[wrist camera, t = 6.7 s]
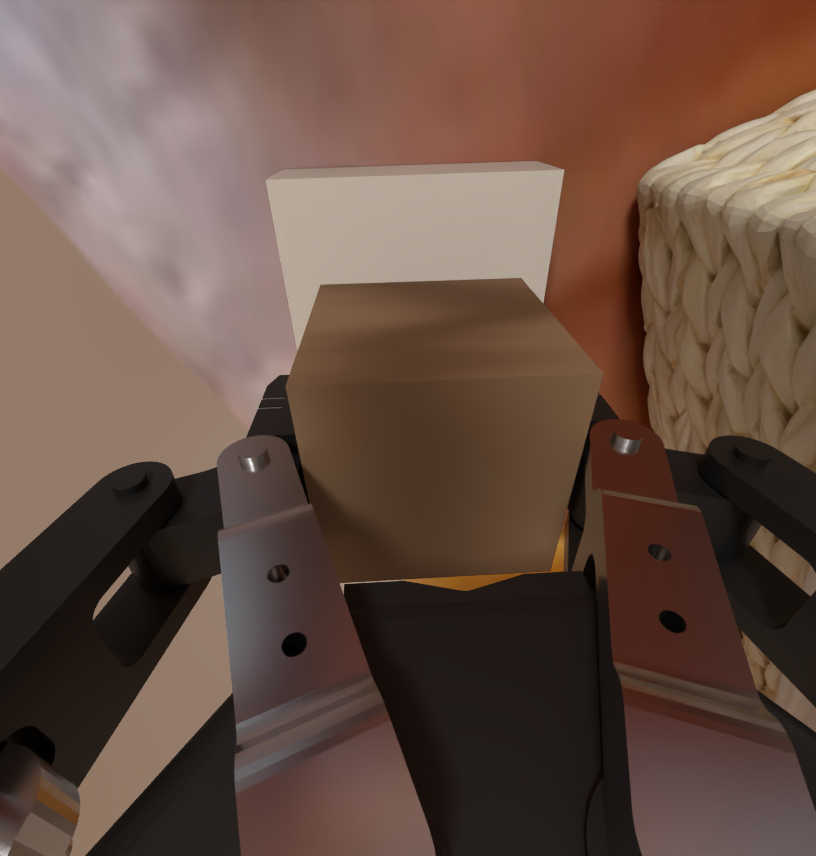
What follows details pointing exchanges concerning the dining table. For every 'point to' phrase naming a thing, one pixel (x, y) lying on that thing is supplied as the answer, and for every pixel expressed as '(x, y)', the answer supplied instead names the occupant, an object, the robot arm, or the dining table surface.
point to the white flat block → (412, 225)
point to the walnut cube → (439, 426)
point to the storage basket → (737, 311)
